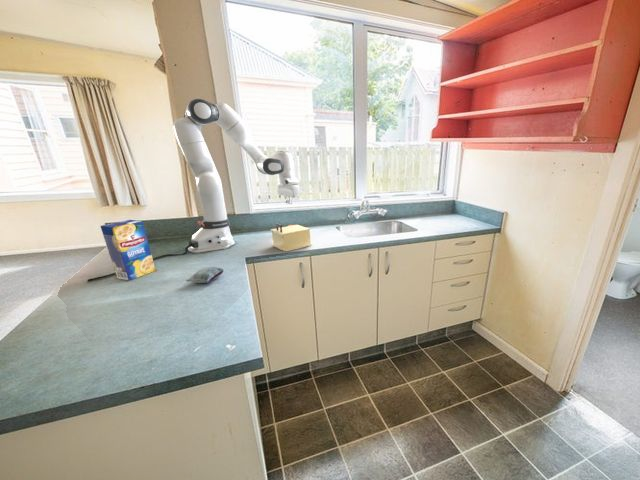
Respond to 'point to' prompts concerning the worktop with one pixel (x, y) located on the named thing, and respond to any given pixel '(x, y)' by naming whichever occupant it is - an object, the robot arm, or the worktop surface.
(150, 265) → the beverage box
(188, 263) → the worktop surface
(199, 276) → the packaged food
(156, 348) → the worktop surface
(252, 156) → the robot arm
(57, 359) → the worktop surface
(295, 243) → the yellow open box
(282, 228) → the lid
